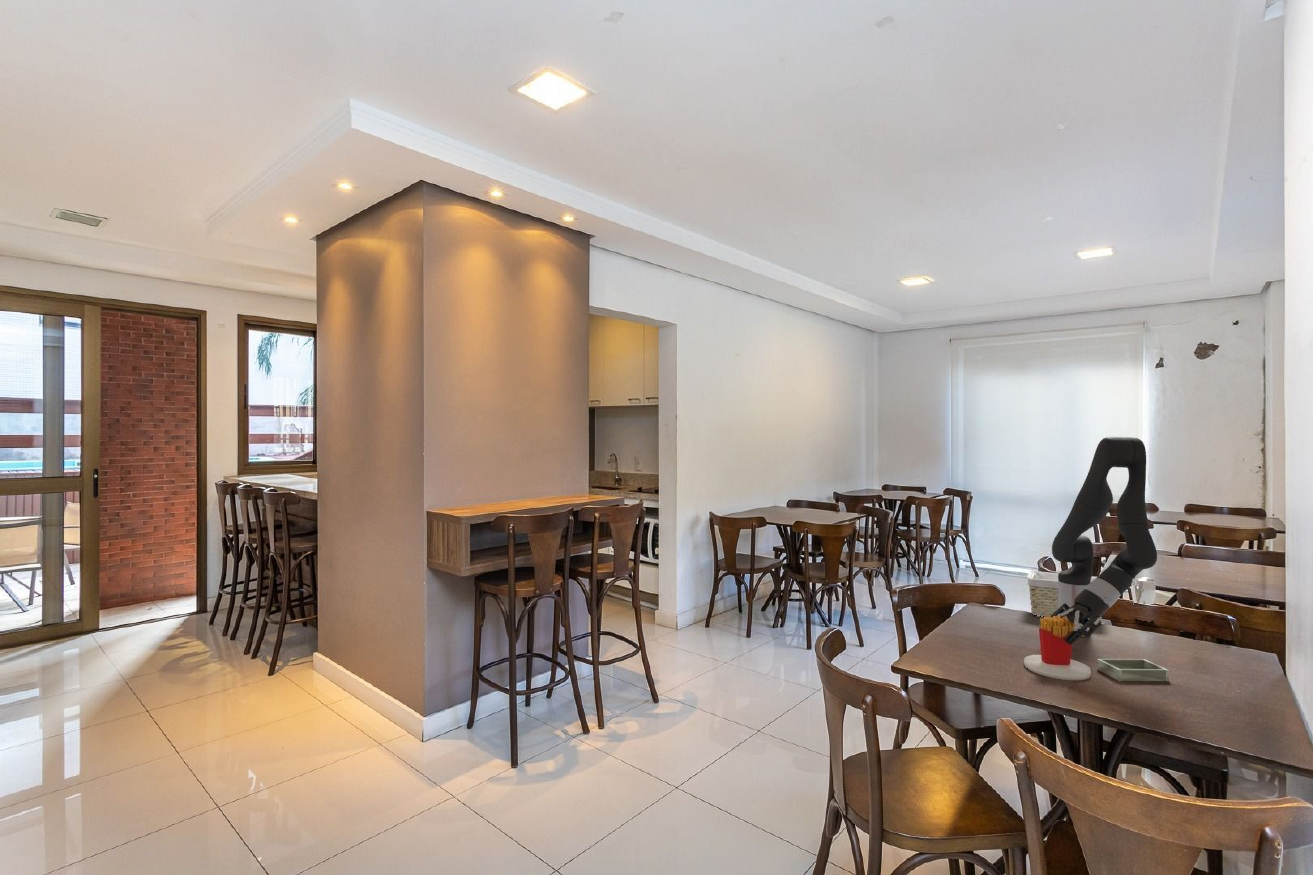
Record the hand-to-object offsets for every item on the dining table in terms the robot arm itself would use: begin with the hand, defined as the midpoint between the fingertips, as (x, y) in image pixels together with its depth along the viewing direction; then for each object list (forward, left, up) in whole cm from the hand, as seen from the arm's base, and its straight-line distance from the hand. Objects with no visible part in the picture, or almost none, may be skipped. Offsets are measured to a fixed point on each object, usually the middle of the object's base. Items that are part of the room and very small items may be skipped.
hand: (1057, 637), depth 177 cm
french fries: (-1, +1, -8) cm, 8 cm away
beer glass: (-49, +62, -9) cm, 80 cm away
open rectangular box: (+4, +18, -9) cm, 21 cm away
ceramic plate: (0, 0, -9) cm, 9 cm away
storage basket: (-54, +37, -10) cm, 66 cm away
